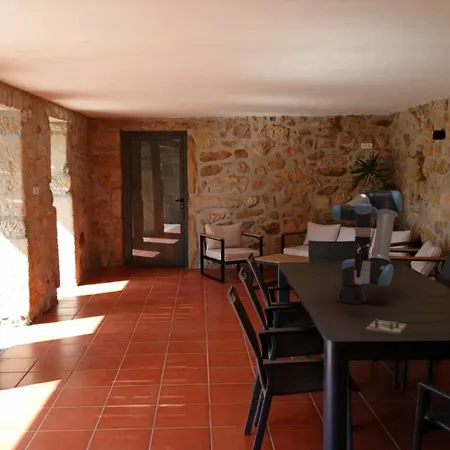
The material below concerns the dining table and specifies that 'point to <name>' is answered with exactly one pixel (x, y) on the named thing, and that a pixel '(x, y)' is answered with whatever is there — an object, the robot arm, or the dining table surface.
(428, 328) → the dining table surface
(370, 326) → the plate
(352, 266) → the robot arm
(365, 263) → the supplement box
